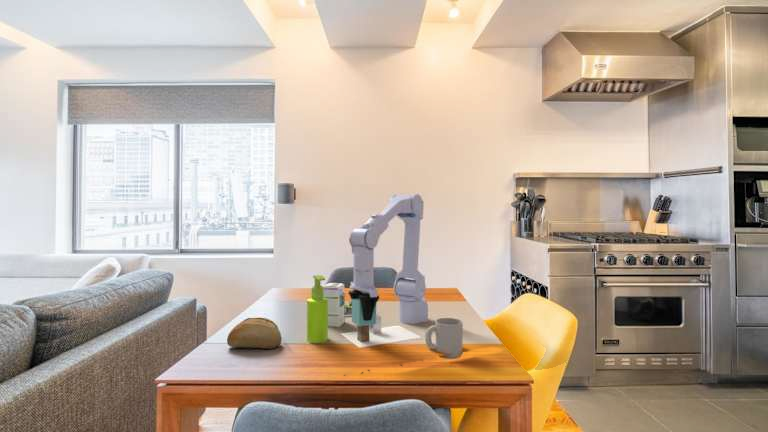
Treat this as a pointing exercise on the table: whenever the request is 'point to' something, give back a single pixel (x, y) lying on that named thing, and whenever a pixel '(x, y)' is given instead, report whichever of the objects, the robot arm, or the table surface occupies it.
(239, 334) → the bread roll
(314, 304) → the soap dispenser
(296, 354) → the table surface
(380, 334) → the post board
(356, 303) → the teal rectangular block
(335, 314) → the syrup box
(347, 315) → the salad plate
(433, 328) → the cup
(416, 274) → the robot arm
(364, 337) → the walnut post
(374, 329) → the steel post
